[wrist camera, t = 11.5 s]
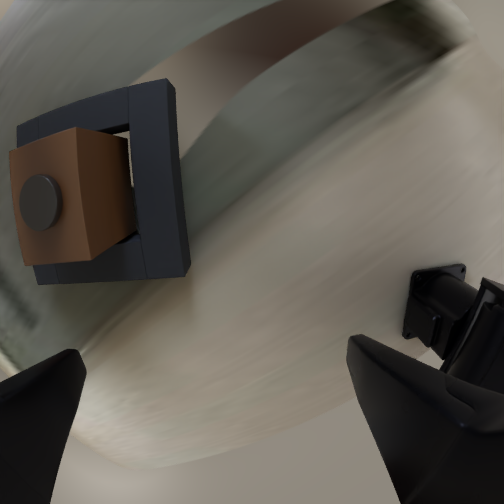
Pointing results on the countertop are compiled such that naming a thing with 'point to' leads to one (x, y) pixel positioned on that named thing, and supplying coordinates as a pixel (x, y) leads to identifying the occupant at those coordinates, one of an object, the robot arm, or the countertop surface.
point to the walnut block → (71, 195)
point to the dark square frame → (144, 178)
